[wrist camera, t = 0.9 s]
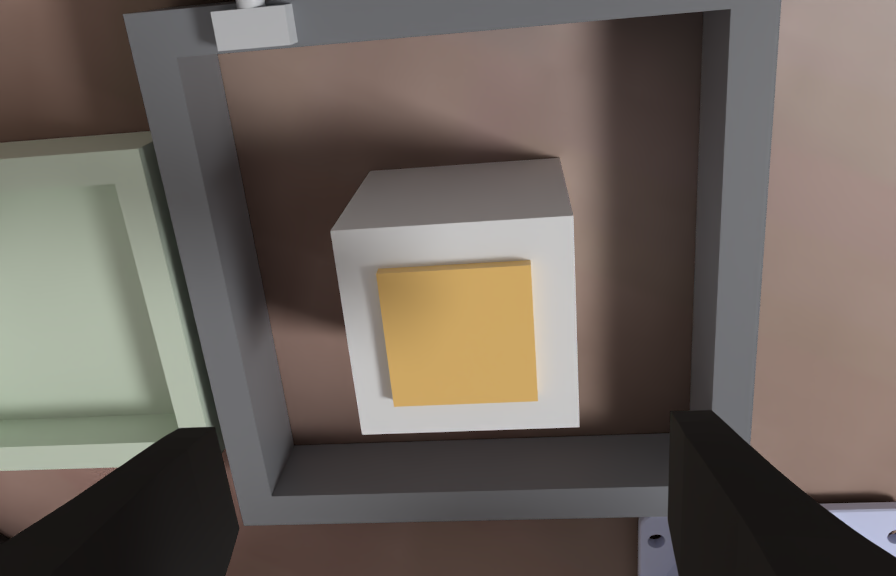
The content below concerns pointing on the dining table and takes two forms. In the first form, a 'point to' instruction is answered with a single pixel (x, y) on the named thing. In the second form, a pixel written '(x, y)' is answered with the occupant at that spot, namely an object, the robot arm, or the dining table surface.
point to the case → (453, 461)
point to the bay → (92, 307)
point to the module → (461, 298)
